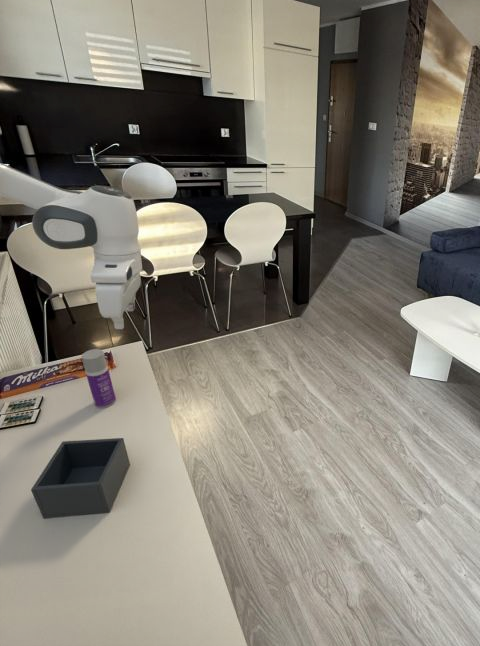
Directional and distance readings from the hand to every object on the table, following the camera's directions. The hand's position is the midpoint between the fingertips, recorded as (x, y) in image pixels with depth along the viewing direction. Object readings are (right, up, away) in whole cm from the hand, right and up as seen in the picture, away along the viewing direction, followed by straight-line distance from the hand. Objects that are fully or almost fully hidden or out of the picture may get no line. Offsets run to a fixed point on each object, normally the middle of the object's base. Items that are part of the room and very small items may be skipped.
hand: (125, 318), depth 93 cm
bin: (0, -34, -13) cm, 37 cm away
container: (-11, -22, +10) cm, 27 cm away
